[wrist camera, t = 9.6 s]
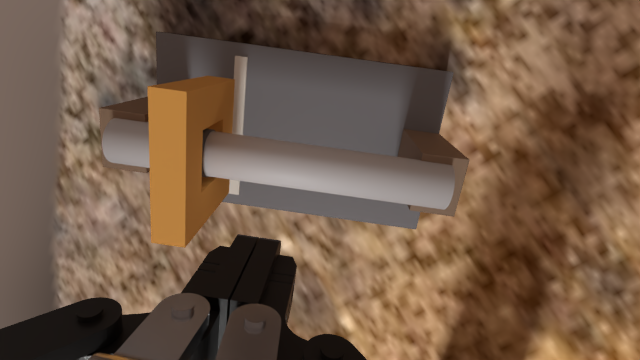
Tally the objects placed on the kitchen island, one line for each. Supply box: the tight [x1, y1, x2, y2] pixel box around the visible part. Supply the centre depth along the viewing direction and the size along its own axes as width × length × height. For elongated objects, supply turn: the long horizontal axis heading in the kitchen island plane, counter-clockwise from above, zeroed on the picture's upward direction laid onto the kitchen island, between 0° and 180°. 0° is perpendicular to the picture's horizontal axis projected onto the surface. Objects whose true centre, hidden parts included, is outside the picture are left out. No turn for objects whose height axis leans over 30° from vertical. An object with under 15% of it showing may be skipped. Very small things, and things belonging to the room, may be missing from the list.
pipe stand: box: [99, 32, 469, 229], centre depth 29 cm, size 24×14×12 cm, turn 83°
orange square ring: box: [148, 76, 235, 247], centre depth 25 cm, size 2×9×9 cm, turn 173°
